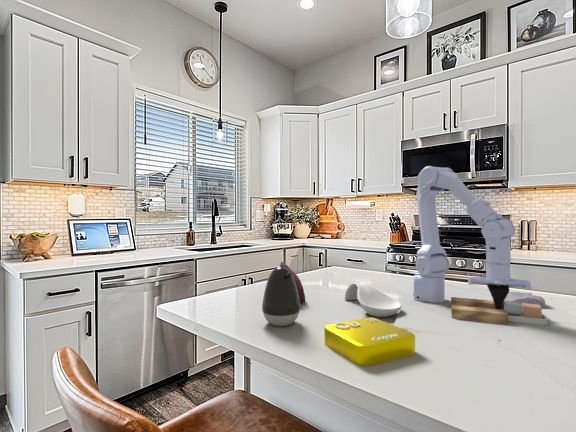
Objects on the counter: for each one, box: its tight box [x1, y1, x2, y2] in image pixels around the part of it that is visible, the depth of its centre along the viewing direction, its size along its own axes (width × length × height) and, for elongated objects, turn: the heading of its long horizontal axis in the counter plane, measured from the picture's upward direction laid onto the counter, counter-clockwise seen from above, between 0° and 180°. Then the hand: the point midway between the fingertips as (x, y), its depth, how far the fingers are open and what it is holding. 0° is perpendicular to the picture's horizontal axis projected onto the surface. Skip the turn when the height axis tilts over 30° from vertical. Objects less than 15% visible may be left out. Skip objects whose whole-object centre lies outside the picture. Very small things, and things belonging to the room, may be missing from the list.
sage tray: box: [508, 311, 551, 327], centre depth 93 cm, size 9×8×2 cm
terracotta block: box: [521, 303, 543, 319], centre depth 93 cm, size 4×4×4 cm
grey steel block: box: [501, 300, 522, 317], centre depth 94 cm, size 4×4×4 cm
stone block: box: [505, 291, 546, 309], centre depth 110 cm, size 12×5×10 cm
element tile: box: [324, 316, 416, 367], centre depth 76 cm, size 15×15×5 cm
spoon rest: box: [344, 282, 402, 318], centre depth 107 cm, size 24×12×7 cm, turn 19°
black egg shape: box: [261, 266, 301, 327], centre depth 93 cm, size 10×10×15 cm
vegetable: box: [279, 261, 306, 305], centre depth 115 cm, size 10×10×15 cm
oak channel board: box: [450, 296, 509, 325], centre depth 98 cm, size 13×14×4 cm
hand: (498, 312), depth 96 cm, fingers closed
